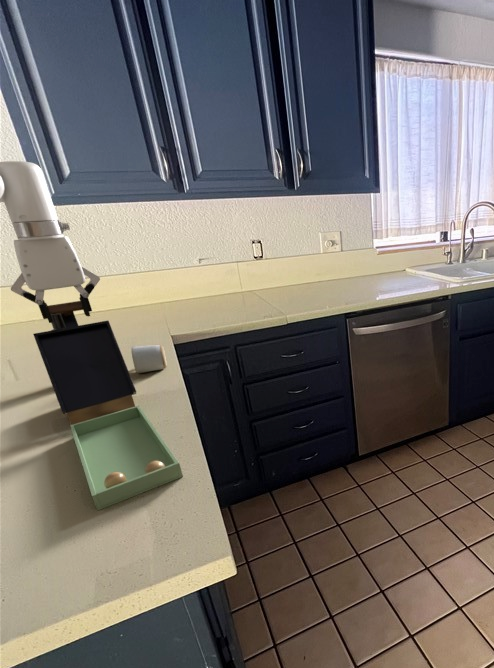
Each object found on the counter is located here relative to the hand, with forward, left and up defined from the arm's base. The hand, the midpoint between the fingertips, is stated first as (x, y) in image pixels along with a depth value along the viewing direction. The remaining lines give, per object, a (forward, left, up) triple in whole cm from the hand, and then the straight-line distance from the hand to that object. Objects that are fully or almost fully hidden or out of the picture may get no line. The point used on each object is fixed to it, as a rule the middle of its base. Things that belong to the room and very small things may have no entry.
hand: (69, 317), depth 93 cm
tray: (+9, -25, -23) cm, 35 cm away
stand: (-1, +2, -23) cm, 23 cm away
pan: (+1, -2, -9) cm, 9 cm away
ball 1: (+10, -37, -21) cm, 44 cm away
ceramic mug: (+8, +26, -23) cm, 35 cm away
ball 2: (+16, -36, -21) cm, 45 cm away
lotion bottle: (-10, +25, -23) cm, 35 cm away
